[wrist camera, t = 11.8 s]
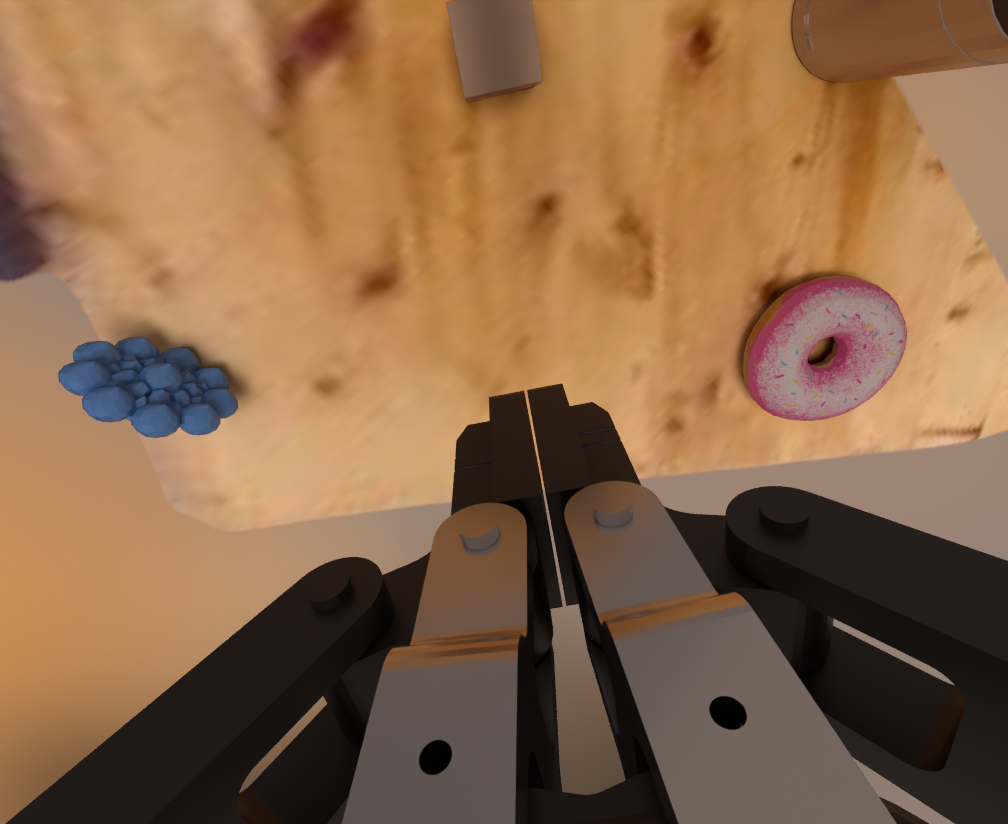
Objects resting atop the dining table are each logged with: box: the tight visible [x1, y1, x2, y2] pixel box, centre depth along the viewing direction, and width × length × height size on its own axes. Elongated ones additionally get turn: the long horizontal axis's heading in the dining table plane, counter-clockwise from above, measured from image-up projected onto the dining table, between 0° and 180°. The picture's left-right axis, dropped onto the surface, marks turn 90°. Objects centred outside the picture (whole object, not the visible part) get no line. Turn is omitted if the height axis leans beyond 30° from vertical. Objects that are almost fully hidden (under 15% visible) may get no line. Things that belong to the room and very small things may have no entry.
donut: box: [743, 275, 907, 421], centre depth 49 cm, size 14×13×5 cm
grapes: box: [58, 337, 238, 438], centre depth 44 cm, size 12×7×12 cm, turn 52°
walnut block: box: [446, 0, 543, 102], centre depth 36 cm, size 5×5×7 cm
